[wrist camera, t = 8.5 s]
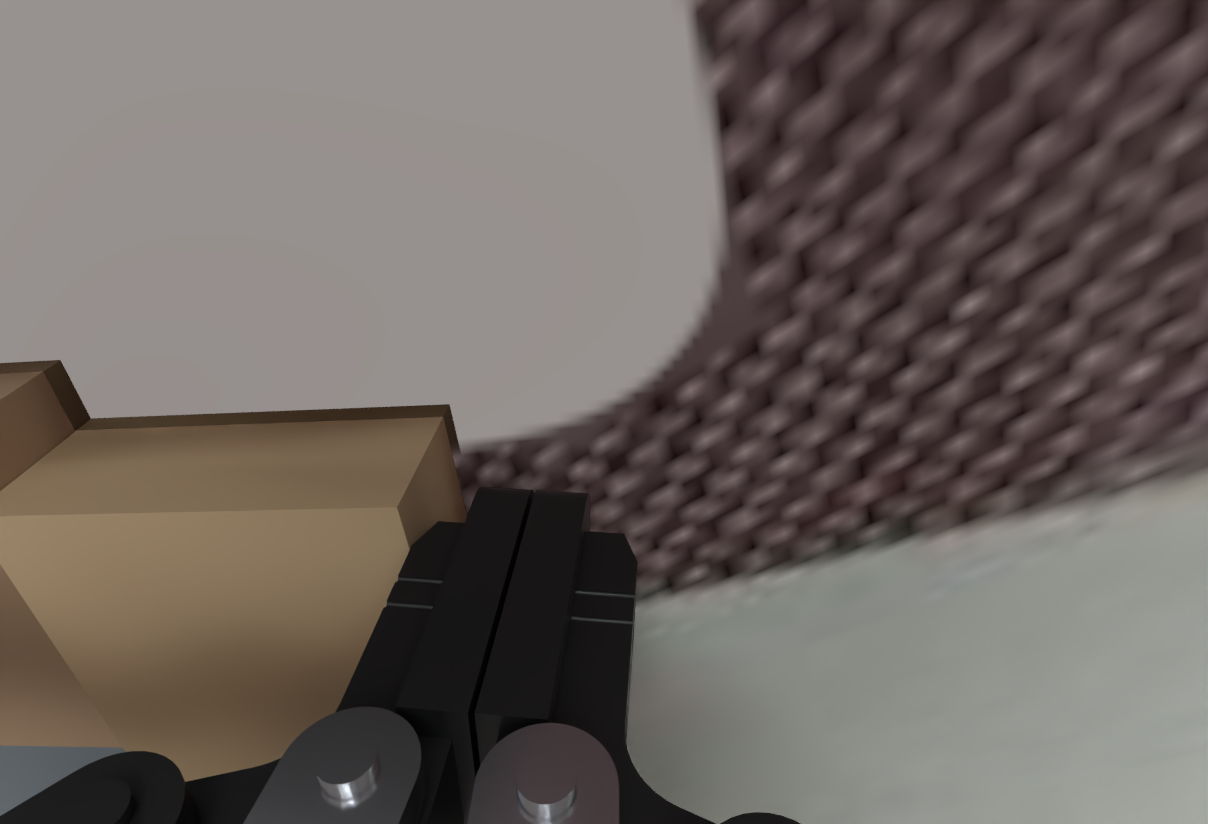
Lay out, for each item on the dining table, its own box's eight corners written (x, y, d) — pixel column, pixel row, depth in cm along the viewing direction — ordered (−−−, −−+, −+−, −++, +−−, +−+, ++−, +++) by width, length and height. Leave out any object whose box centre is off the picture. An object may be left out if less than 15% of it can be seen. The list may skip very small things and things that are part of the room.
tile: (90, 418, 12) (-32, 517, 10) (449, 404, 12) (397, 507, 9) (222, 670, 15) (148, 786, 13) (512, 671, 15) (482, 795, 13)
